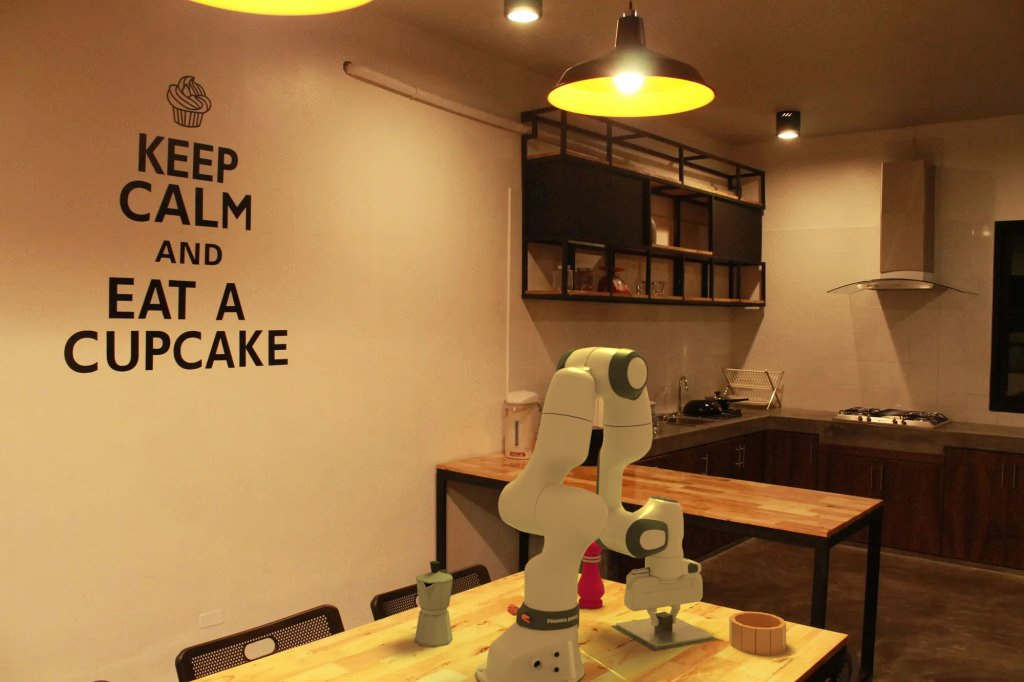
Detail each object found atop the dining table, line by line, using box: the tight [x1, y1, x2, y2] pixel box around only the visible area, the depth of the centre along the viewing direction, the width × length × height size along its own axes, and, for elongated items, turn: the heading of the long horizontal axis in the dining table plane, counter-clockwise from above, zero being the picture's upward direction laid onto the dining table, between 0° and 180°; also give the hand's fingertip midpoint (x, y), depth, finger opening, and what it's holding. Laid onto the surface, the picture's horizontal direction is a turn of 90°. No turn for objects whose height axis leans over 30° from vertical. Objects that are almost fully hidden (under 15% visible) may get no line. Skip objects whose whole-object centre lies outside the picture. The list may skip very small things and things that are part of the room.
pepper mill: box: [577, 541, 606, 610], centre depth 217 cm, size 7×7×20 cm
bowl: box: [728, 611, 787, 656], centre depth 190 cm, size 12×12×6 cm
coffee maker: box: [414, 560, 454, 648], centre depth 193 cm, size 15×9×18 cm, turn 168°
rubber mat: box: [610, 624, 719, 652], centre depth 197 cm, size 18×18×1 cm
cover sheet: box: [615, 611, 714, 649], centre depth 197 cm, size 16×16×4 cm
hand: (663, 624), depth 197 cm, fingers closed on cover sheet, 3 cm apart
